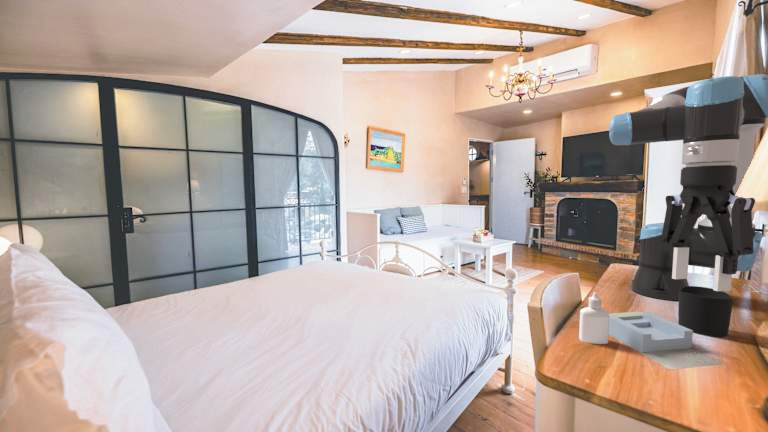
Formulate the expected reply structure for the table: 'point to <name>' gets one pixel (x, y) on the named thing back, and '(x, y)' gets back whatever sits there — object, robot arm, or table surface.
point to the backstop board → (640, 316)
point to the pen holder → (705, 310)
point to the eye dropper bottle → (594, 322)
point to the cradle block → (651, 333)
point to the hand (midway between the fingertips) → (699, 283)
